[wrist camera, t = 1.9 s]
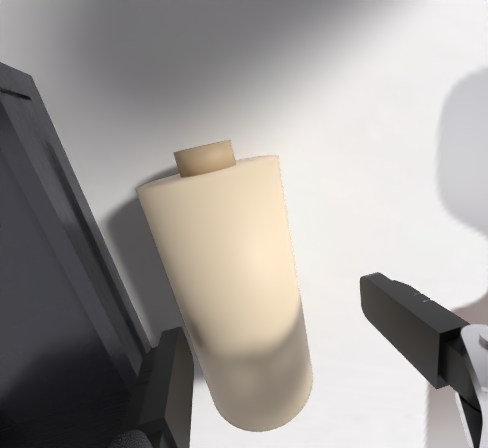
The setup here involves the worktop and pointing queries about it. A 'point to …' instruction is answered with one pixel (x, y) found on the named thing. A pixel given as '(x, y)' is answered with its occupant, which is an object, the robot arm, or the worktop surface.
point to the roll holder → (56, 293)
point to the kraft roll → (234, 280)
